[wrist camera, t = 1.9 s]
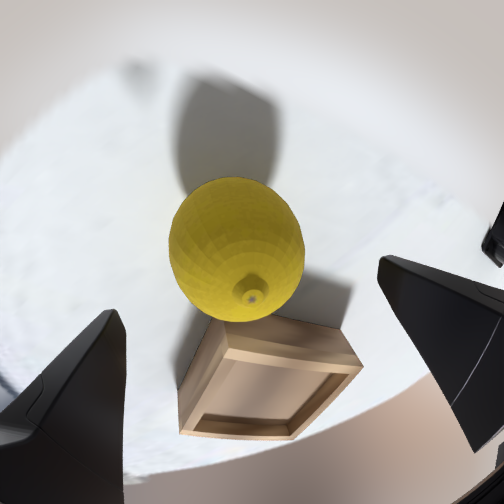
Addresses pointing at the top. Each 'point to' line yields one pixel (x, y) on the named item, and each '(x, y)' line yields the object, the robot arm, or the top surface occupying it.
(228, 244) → the lemon
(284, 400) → the tan open box
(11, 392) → the top surface
